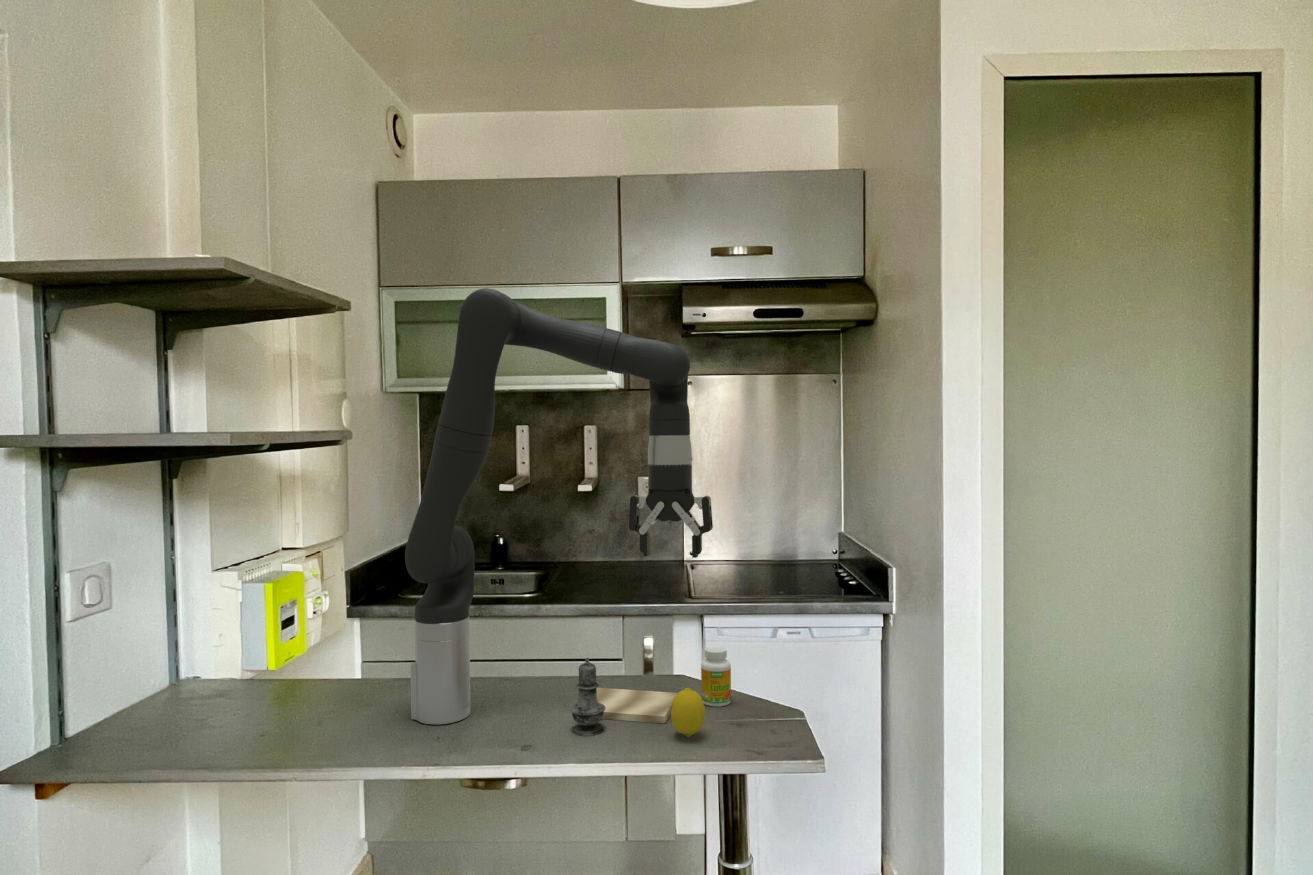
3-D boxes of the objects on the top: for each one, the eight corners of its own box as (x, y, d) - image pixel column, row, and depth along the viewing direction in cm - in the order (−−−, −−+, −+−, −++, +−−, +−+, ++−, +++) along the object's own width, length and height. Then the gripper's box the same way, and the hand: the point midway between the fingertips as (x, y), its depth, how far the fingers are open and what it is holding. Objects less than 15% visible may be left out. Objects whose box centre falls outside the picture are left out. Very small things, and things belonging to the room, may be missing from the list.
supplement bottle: (709, 709, 136) (708, 654, 136) (696, 699, 141) (696, 646, 141) (736, 704, 138) (735, 651, 138) (723, 695, 143) (722, 643, 143)
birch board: (575, 716, 133) (575, 709, 133) (596, 693, 145) (596, 687, 145) (664, 723, 129) (664, 716, 129) (678, 699, 141) (678, 692, 141)
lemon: (666, 741, 122) (665, 691, 122) (677, 728, 127) (677, 680, 127) (699, 746, 120) (699, 695, 120) (709, 732, 125) (709, 684, 125)
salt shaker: (600, 737, 124) (599, 663, 124) (565, 735, 125) (564, 661, 125) (609, 723, 129) (608, 653, 129) (576, 721, 131) (575, 651, 131)
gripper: (624, 463, 129) (625, 558, 129) (707, 462, 126) (708, 561, 126) (635, 461, 136) (636, 552, 136) (714, 461, 133) (715, 554, 133)
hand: (671, 556), depth 131 cm, fingers open, 8 cm apart
